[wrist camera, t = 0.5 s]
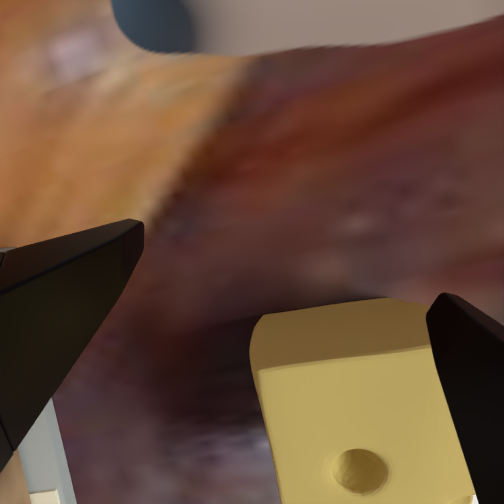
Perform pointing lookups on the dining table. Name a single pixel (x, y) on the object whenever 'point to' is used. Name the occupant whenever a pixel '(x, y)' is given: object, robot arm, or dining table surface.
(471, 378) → the robot arm
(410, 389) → the cheese
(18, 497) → the walnut block
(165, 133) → the dining table surface
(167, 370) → the dining table surface
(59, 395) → the dining table surface
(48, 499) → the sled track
